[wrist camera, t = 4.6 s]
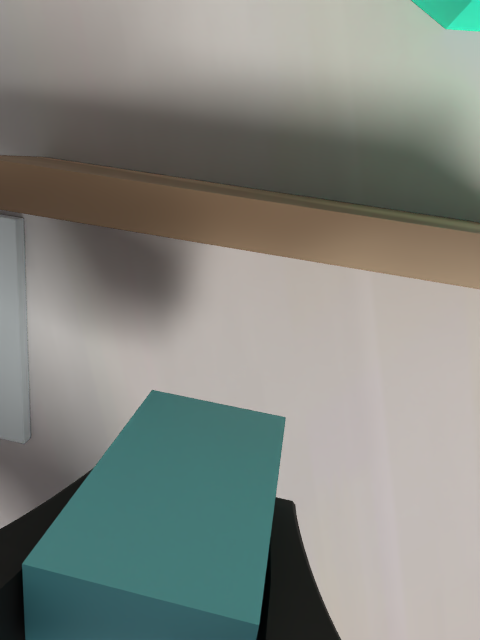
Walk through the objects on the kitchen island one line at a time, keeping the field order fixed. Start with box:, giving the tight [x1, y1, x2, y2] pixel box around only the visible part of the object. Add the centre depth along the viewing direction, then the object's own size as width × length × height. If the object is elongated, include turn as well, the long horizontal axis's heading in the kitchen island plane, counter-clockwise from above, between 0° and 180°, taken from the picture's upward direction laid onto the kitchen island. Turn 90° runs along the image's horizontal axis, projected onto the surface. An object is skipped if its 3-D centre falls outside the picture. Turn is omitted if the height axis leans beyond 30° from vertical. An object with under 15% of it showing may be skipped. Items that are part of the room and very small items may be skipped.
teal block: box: [22, 390, 286, 640], centre depth 12 cm, size 4×4×7 cm
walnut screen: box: [0, 155, 480, 289], centre depth 16 cm, size 2×20×5 cm, turn 82°
